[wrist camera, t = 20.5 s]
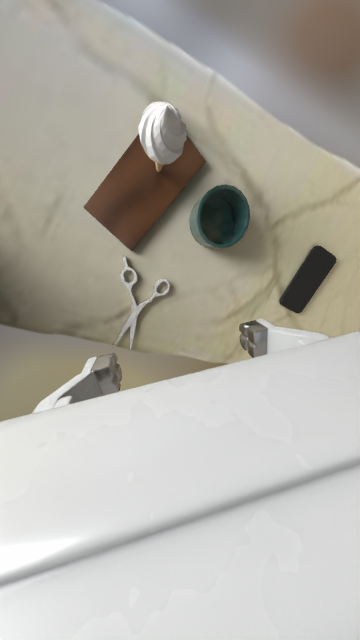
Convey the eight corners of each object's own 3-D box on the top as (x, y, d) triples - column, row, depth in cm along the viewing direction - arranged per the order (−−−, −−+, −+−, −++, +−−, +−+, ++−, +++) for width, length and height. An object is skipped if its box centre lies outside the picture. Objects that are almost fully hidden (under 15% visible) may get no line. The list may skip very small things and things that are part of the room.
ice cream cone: (174, 190, 33) (195, 145, 19) (142, 188, 32) (138, 139, 18) (174, 151, 31) (197, 68, 17) (139, 147, 30) (134, 57, 16)
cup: (179, 222, 36) (185, 217, 31) (214, 181, 34) (226, 169, 29) (211, 258, 39) (221, 259, 34) (244, 222, 38) (259, 218, 33)
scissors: (174, 275, 38) (143, 357, 43) (173, 275, 39) (143, 355, 44) (122, 255, 35) (96, 345, 40) (123, 255, 36) (97, 344, 41)
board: (85, 208, 32) (83, 207, 31) (161, 107, 29) (162, 101, 28) (131, 250, 36) (131, 251, 35) (203, 164, 33) (205, 161, 32)
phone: (279, 303, 45) (317, 243, 41) (276, 302, 46) (314, 243, 42) (300, 314, 47) (338, 258, 44) (297, 313, 48) (335, 258, 44)
